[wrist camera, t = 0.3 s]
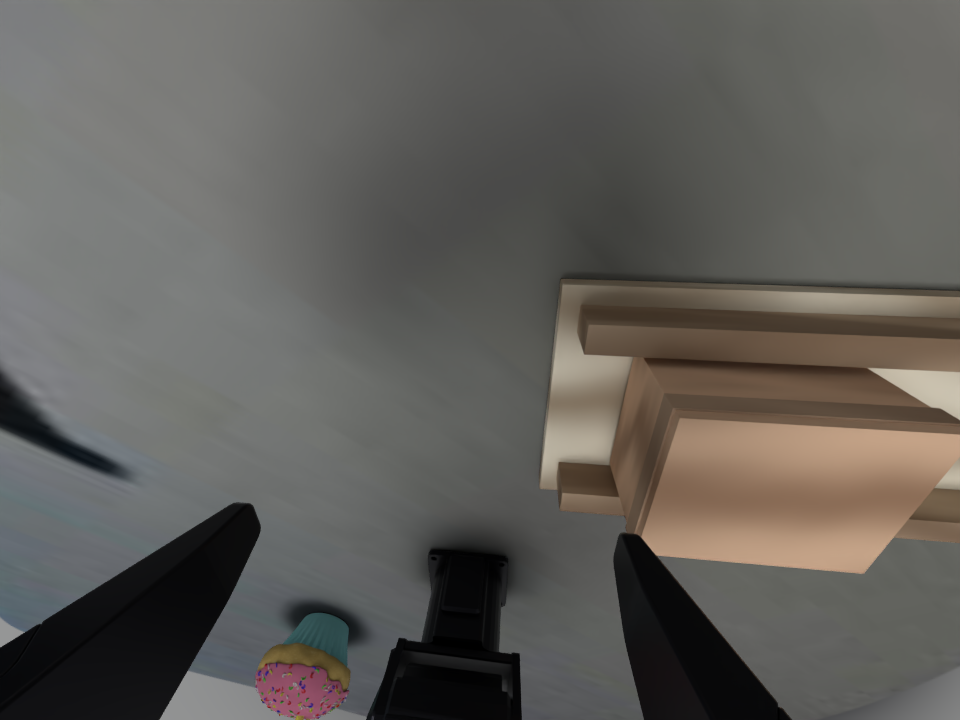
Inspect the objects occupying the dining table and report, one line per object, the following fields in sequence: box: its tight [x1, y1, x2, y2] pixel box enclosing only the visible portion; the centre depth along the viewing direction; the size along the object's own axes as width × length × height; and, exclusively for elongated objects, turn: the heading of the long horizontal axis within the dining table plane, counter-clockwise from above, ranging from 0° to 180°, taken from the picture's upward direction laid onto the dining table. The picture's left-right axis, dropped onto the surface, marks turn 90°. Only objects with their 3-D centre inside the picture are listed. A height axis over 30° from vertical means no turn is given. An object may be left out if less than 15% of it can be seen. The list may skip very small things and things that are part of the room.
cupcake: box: [255, 613, 350, 720], centre depth 33 cm, size 9×8×12 cm
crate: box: [609, 357, 960, 574], centre depth 18 cm, size 8×10×6 cm
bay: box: [539, 279, 960, 543], centre depth 20 cm, size 14×30×4 cm, turn 90°
